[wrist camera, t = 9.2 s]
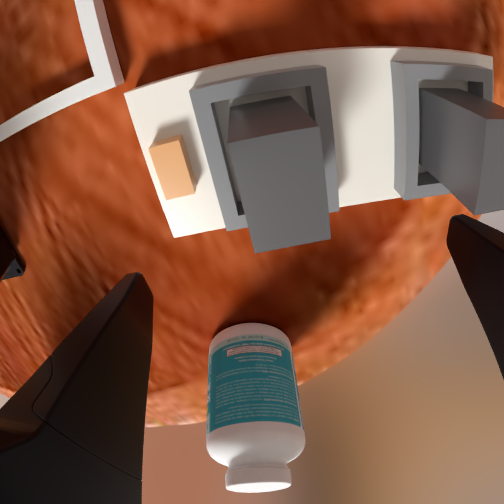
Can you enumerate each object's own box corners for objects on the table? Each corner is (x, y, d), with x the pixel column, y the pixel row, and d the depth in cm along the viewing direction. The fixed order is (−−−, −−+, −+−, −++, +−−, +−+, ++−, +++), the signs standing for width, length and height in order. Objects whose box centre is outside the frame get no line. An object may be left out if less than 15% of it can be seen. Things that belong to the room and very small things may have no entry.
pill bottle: (193, 335, 28) (183, 483, 17) (268, 306, 26) (286, 471, 15) (235, 373, 32) (239, 498, 21) (302, 351, 30) (324, 485, 19)
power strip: (178, 220, 21) (170, 253, 18) (134, 87, 15) (113, 99, 13) (469, 172, 19) (496, 195, 16) (473, 52, 14) (508, 61, 11)
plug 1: (248, 185, 17) (254, 253, 13) (229, 106, 15) (227, 143, 10) (303, 175, 17) (331, 239, 12) (290, 95, 14) (319, 126, 10)
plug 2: (416, 162, 17) (474, 215, 12) (416, 87, 14) (486, 119, 9) (456, 158, 16) (515, 207, 12) (458, 88, 14) (530, 120, 9)
